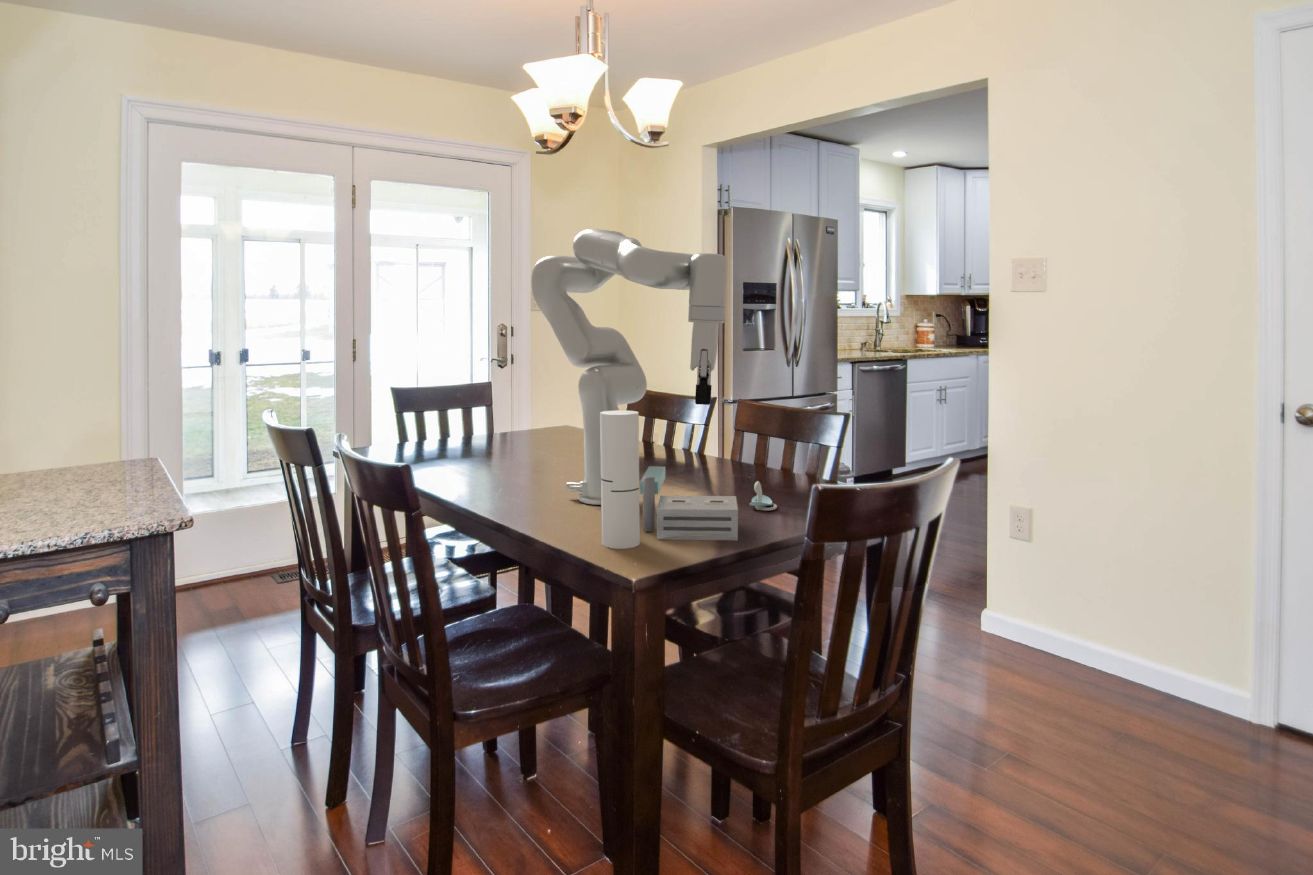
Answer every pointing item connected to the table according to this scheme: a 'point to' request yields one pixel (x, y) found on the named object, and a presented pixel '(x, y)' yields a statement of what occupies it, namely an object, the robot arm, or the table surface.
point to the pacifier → (761, 499)
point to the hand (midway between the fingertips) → (702, 403)
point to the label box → (697, 518)
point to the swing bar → (651, 494)
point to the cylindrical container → (620, 478)
